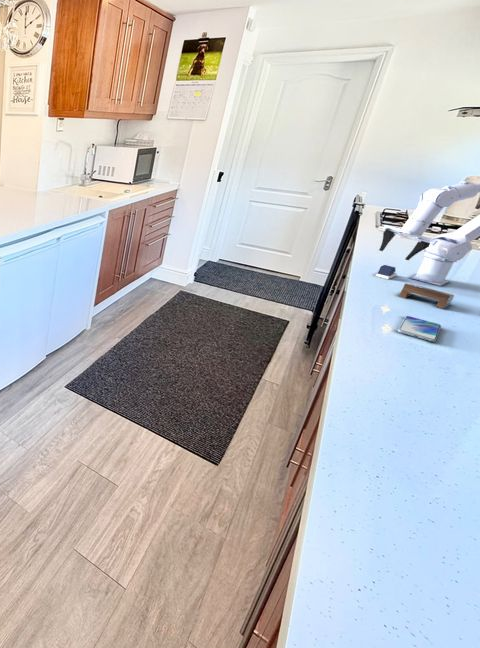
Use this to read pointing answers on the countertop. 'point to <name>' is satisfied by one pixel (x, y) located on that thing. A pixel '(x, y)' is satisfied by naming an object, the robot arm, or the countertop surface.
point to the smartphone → (420, 328)
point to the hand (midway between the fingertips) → (393, 255)
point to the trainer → (386, 272)
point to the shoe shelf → (427, 294)
